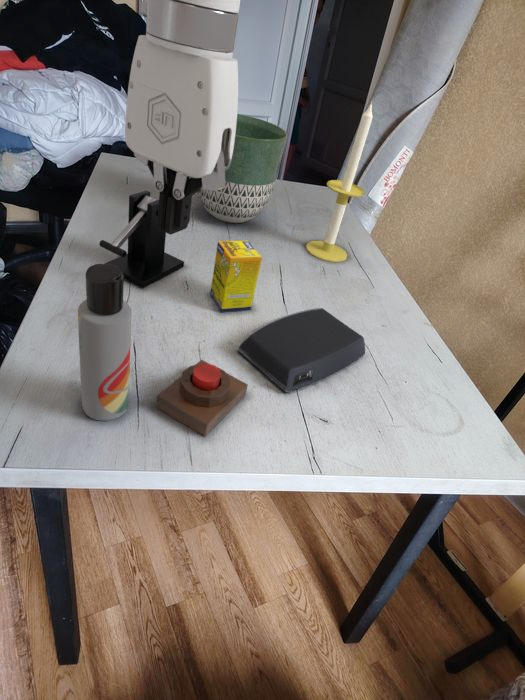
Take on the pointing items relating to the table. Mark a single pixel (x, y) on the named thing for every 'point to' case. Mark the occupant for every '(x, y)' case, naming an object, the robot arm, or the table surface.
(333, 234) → the candle
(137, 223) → the lever handle
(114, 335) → the lotion bottle
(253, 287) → the supplement box
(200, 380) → the button
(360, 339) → the hard drive
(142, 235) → the lever bracket
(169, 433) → the table surface
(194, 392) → the button block
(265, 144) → the planter
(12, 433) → the table surface
